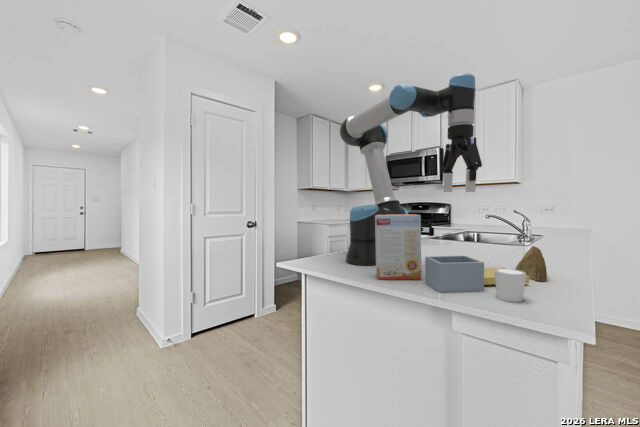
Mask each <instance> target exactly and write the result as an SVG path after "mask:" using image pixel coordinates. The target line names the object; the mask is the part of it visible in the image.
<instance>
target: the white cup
mask: <svg viewBox="0 0 640 427" xmlns="http://www.w3.org/2000/svg"><path fill="white" fill-rule="evenodd" d="M494 272H495V283H496V285H495V290H496V292H495V293H496V297H497V298H498V299H499V300H502V301H506V302H510V301H511V302H512V303H514V302H515V303H521V302H523V301H524V300H523V299H524V292H525V286H526V283H525V279H526V273H525V272H523V271H520V270H515V269H514V268H507V269H495V270H494ZM511 302H510V303H511Z"/></svg>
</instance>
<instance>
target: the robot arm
mask: <svg viewBox="0 0 640 427" xmlns="http://www.w3.org/2000/svg"><path fill="white" fill-rule="evenodd" d="M448 82H449V83H448V86H446V87H445V88H443V89H440V90H437V91H436V90H433V89H428V88H423V87H418V86H414V85H411V84H407V83H406V84H402V83H399V84H397V85H395V86H394V87H393V89H392V90H391V92H390V94H389V96H388V97H386V98H385V99H383V100H381V101H379V102H377V103H376V104H374V105H373V106H372V105H371V107H369V108H367V109H366V110H364V111H362V112H361V113H359V114H357V115H351V116H349V117H347V118H346V119H344V120H343V121H342V123H341V125H340V127H339V137H340V138H341V140H342V141H343V142H344V143H345V144H347V145H348V146H352V147H358V148H359V150H360V154H361V155H362V156H364V158H365V162H366V167H367V171H368V175H369V181H370V185H371V189H372V193H373V198H374V201H375V203H374V204H366V205H359V206H354V207H352V208H351V209H350V212H349V236H350V237H349V240H350V241H349V242H350V243H349V246H348V250H347V253H346V257H345V258H346V259H345V260H346V261H345V262H346V263H347V264H350V265H353V266H354V265H355V266H376V243H375V215H388V214H409V212H408V210H407V208H405V207H404V206H401V203H400V200H399V199H397V198H396V197H395V193H394V189H393V186H392V185H393V184H392V181H391V177H390V174H389V170H388V166H387V160H386V158H385V157H386V156H385V152H384V149H385V148H386V144H387V143H388V138H389V134H388V129H387V128H386V126H385V125H384V124H385V123H387V122H389V121H391V120H393V119H395V118H397V117H399V116H401V115H404V114H406V113H408V112H416V113H418V114H420V116H421V117H423V118H429V117H431V118H432V117H435V116H437V115H441V114H443V113H448V114H447V119H448V120H447V126H448V128H447V139H448V140H450V141H451V142H450V144H449V143H447V144H446V145H445V151H444V155H443V159H442V163H441V167H440V172H441V173H443V193H452V192H453V180H454V179H453V174H454V171H453V169H454V167H455V164H456V162H457V161H458V158H460V156H461V157H462V159H463V162H464V163H465V165H466V168H465V170H466V171H465V190H464V191H465V193H475V192H476V186H477V185H476V184H477V171H478V170H479V168H482V166H483V164H482V160H481V155H480V152H479V148H478V145H477V137H475V136H474V129H475V128H474V123H475V100H476V99H475V96H476V77H475V75H474V74H472V73H459V74H456V75H454V76H452V77H451V78H449V80H448Z"/></svg>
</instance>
